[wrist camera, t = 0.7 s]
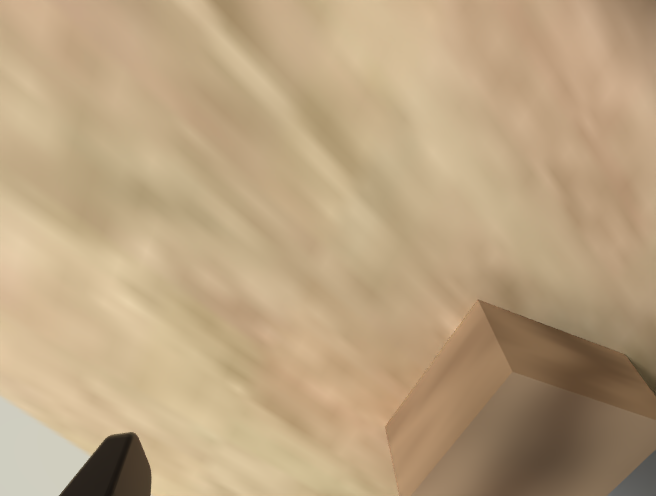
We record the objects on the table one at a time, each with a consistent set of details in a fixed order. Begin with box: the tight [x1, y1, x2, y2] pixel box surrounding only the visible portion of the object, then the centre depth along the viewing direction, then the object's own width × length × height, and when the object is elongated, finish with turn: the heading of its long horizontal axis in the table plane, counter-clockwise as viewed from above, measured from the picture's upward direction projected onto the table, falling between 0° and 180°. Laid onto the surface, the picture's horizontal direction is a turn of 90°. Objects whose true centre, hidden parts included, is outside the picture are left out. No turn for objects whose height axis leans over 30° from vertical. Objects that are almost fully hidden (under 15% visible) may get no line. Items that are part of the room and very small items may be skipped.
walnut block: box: [385, 300, 656, 496], centre depth 27 cm, size 8×8×4 cm
